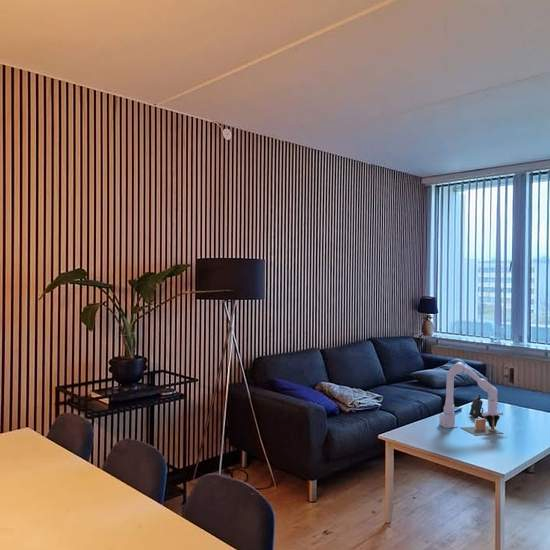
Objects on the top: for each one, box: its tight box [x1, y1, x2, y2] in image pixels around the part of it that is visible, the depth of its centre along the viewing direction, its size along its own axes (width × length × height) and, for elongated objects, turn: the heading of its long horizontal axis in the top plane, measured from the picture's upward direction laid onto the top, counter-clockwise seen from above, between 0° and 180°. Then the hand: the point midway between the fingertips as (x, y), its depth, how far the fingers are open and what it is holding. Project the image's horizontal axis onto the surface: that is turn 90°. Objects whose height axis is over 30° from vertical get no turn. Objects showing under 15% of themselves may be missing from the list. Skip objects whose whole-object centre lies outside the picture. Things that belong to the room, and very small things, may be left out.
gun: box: [468, 394, 488, 422], centre depth 347 cm, size 3×17×15 cm
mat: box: [460, 425, 504, 437], centre depth 319 cm, size 20×16×1 cm
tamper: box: [488, 416, 498, 432], centre depth 318 cm, size 4×4×10 cm
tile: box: [474, 418, 487, 430], centre depth 321 cm, size 7×2×7 cm, turn 103°
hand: (492, 426), depth 318 cm, fingers closed on tamper, 2 cm apart
